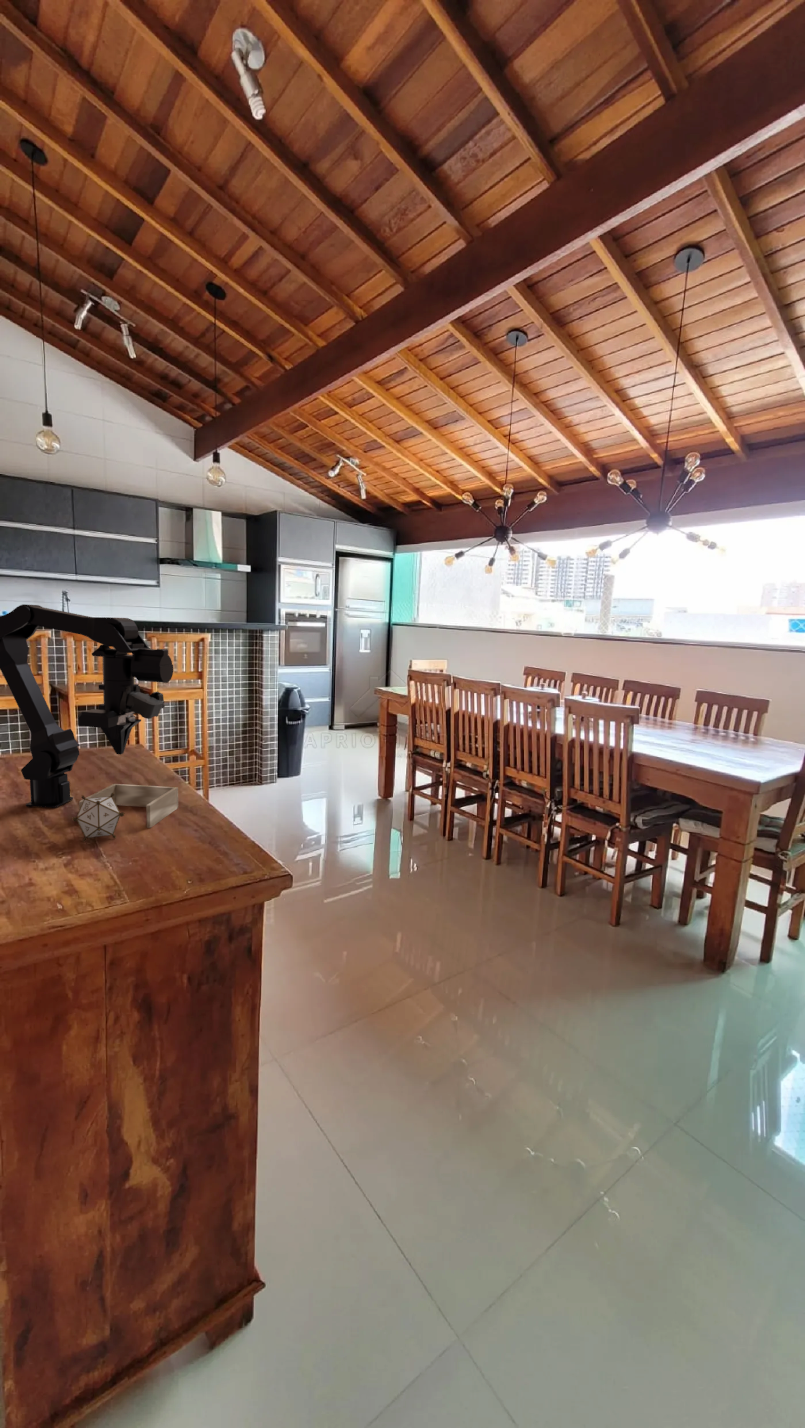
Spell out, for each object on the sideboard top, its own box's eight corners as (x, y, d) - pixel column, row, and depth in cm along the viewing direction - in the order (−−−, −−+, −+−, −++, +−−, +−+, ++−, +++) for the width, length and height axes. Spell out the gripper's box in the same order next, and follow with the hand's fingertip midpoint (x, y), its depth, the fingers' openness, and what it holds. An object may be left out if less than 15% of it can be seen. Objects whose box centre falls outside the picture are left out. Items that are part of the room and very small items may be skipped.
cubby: (79, 823, 113) (78, 801, 112) (114, 804, 125) (113, 783, 125) (150, 827, 112) (149, 805, 112) (178, 807, 125) (177, 787, 124)
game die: (105, 860, 106) (104, 829, 99) (61, 841, 106) (58, 809, 99) (134, 823, 113) (135, 792, 106) (93, 806, 112) (92, 773, 106)
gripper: (131, 687, 109) (132, 767, 111) (178, 678, 127) (178, 748, 130) (74, 682, 110) (76, 763, 112) (129, 674, 128) (130, 744, 131)
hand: (119, 754), depth 121 cm, fingers closed
